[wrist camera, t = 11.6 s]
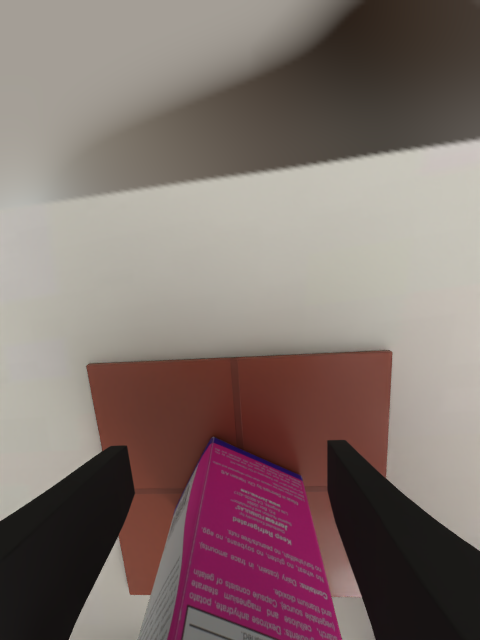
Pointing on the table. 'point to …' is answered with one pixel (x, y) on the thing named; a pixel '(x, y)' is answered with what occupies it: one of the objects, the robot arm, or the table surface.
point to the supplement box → (241, 557)
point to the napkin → (239, 434)
